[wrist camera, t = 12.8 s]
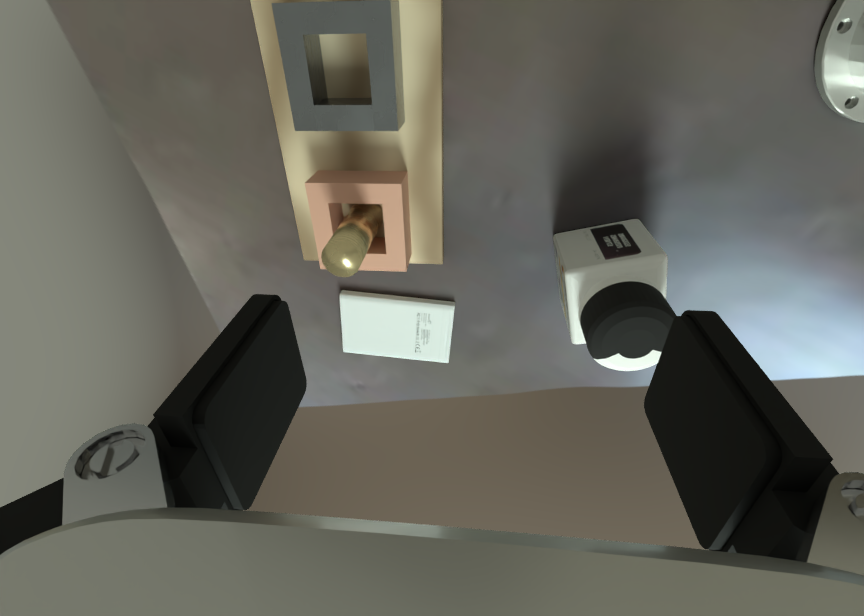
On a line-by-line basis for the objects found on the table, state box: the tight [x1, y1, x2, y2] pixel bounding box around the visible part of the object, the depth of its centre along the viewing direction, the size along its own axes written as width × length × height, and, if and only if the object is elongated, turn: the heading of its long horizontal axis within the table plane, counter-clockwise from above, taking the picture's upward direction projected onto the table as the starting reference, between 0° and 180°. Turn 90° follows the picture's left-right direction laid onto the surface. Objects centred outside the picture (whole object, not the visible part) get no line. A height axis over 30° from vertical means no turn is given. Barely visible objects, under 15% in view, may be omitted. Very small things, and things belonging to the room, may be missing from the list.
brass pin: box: [321, 204, 383, 277], centre depth 36 cm, size 3×3×9 cm
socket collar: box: [305, 170, 412, 272], centre depth 38 cm, size 8×8×4 cm
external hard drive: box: [340, 290, 455, 363], centre depth 49 cm, size 2×8×12 cm
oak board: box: [250, 0, 444, 264], centre depth 37 cm, size 14×22×2 cm, turn 1°
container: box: [553, 219, 677, 371], centre depth 37 cm, size 8×8×13 cm
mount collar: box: [271, 0, 405, 131], centre depth 32 cm, size 8×8×4 cm
